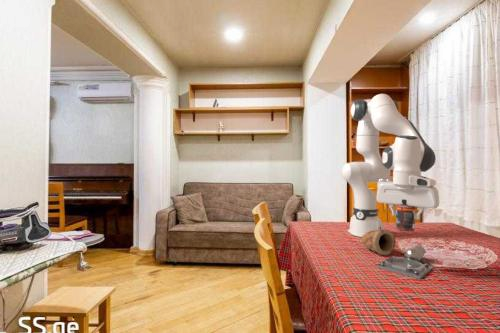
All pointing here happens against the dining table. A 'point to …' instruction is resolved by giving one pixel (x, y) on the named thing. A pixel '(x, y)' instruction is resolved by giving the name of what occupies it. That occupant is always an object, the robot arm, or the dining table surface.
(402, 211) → the supplement bottle
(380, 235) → the clay pipe
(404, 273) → the flange seat
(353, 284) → the dining table surface
